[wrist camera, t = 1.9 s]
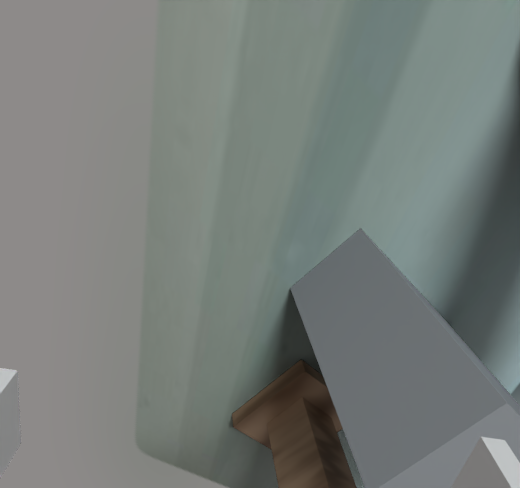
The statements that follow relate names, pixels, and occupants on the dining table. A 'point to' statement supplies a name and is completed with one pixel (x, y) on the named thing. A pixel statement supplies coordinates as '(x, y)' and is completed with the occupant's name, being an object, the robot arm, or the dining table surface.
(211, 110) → the dining table surface
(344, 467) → the stand
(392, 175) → the dining table surface
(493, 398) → the block
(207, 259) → the dining table surface
